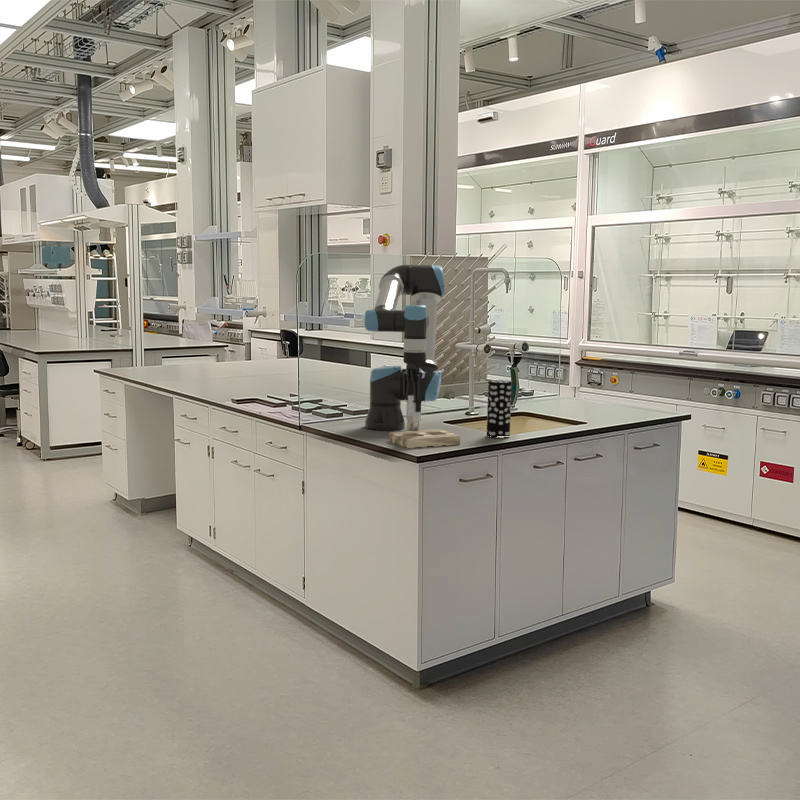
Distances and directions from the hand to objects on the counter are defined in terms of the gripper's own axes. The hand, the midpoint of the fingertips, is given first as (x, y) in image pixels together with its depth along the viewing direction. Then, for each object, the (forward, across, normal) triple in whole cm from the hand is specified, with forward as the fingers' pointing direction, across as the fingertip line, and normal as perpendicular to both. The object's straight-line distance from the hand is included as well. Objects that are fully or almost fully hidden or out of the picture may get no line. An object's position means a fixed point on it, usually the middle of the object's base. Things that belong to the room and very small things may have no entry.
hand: (413, 420), depth 269 cm
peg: (+4, 0, 0) cm, 4 cm away
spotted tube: (+8, +1, -36) cm, 37 cm away
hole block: (+8, 0, -5) cm, 9 cm away
